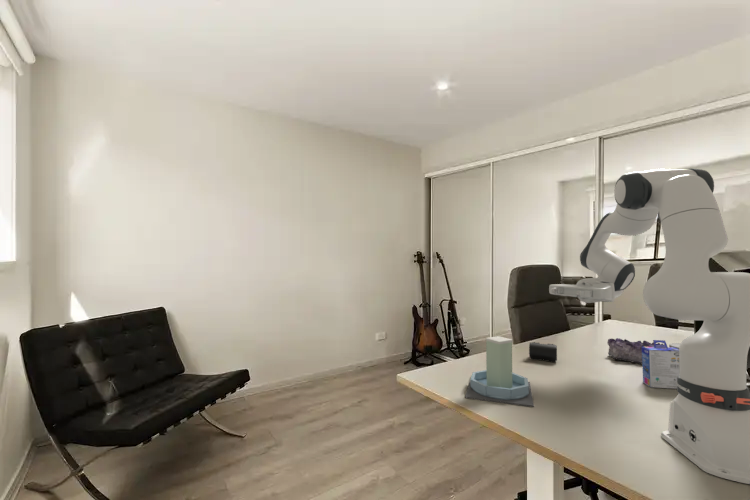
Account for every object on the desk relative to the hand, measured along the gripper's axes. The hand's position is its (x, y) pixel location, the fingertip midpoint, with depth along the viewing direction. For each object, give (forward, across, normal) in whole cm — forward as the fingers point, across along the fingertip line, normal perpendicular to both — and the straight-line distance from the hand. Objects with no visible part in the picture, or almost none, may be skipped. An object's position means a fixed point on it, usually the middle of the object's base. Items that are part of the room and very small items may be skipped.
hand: (565, 292), depth 123 cm
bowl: (+27, -5, +30) cm, 41 cm away
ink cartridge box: (-22, +19, +30) cm, 42 cm away
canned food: (-38, +18, +30) cm, 52 cm away
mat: (+27, -5, +30) cm, 41 cm away
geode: (-45, 0, +30) cm, 54 cm away
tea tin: (+27, -5, +29) cm, 40 cm away
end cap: (-14, -19, +30) cm, 38 cm away
